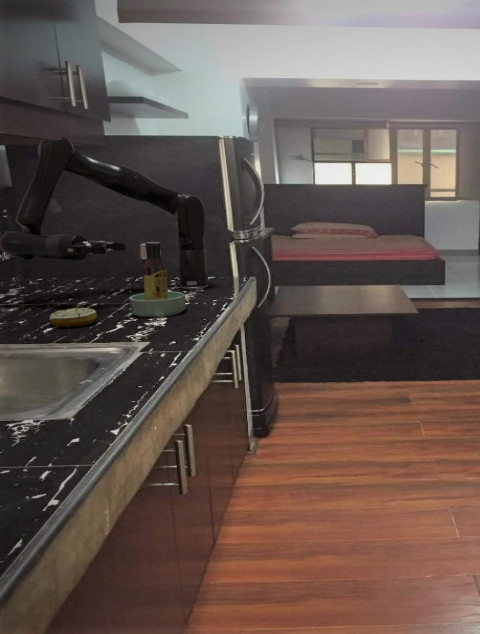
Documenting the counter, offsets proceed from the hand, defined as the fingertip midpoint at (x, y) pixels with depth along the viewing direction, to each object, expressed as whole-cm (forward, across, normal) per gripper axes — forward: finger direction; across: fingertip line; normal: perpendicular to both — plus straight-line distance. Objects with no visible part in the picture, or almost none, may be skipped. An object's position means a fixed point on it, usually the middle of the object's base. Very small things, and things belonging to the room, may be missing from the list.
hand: (115, 248), depth 176 cm
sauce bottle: (+13, -2, +18) cm, 22 cm away
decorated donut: (0, -19, +18) cm, 27 cm away
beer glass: (-20, +44, +19) cm, 51 cm away
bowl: (+13, -2, +18) cm, 23 cm away
